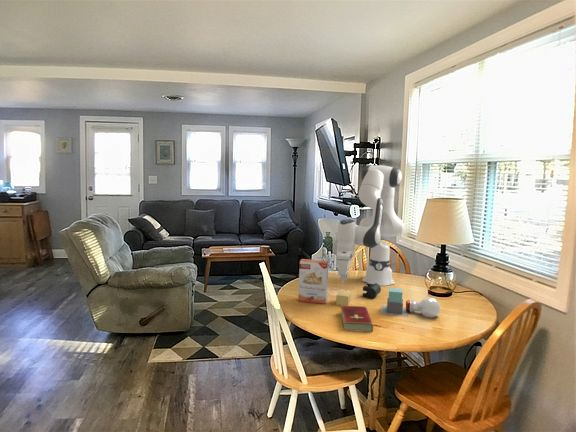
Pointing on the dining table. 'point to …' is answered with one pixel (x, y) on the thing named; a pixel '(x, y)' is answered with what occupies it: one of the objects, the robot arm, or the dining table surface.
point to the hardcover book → (356, 318)
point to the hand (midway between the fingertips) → (344, 280)
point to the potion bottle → (424, 307)
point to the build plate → (404, 313)
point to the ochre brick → (343, 298)
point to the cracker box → (313, 281)
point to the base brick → (394, 307)
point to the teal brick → (395, 295)
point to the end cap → (371, 290)
